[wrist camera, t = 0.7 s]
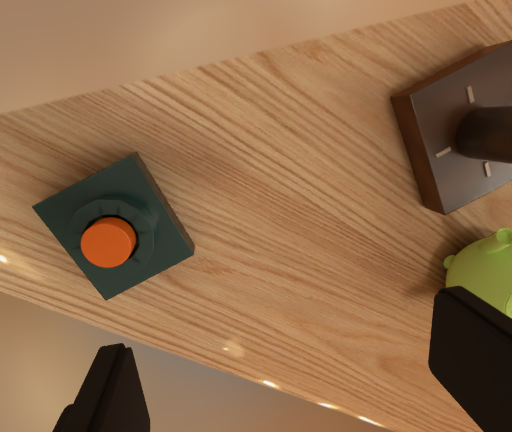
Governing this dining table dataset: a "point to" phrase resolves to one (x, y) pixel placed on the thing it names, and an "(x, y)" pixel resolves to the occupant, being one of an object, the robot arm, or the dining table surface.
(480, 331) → the robot arm
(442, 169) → the dial panel
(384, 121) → the dining table surface
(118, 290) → the button housing
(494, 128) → the dial
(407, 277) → the dining table surface
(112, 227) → the orange push button
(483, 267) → the teapot
